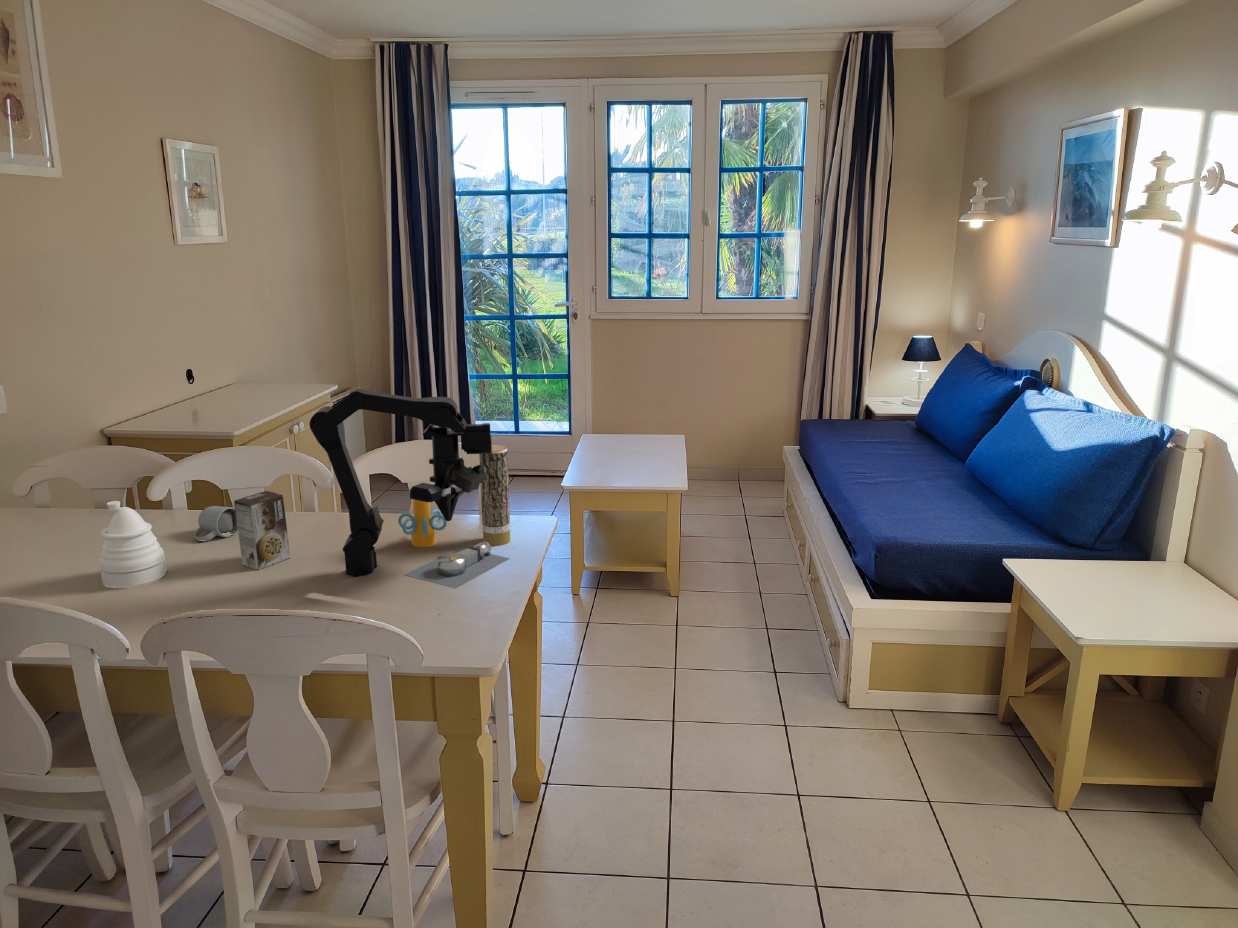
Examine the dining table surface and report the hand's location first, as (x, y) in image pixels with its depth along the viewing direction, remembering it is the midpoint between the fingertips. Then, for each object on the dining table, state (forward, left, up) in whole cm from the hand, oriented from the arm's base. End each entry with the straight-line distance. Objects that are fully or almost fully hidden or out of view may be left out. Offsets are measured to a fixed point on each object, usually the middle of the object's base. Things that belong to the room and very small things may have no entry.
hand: (448, 520), depth 193 cm
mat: (+1, -1, -12) cm, 12 cm away
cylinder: (+9, +16, -13) cm, 22 cm away
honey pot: (-38, +60, -13) cm, 72 cm away
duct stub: (+9, -2, -11) cm, 14 cm away
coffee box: (-17, +42, -13) cm, 47 cm away
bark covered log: (+19, +1, -13) cm, 23 cm away
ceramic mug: (-11, +68, -13) cm, 70 cm away
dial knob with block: (0, -2, -11) cm, 11 cm away
